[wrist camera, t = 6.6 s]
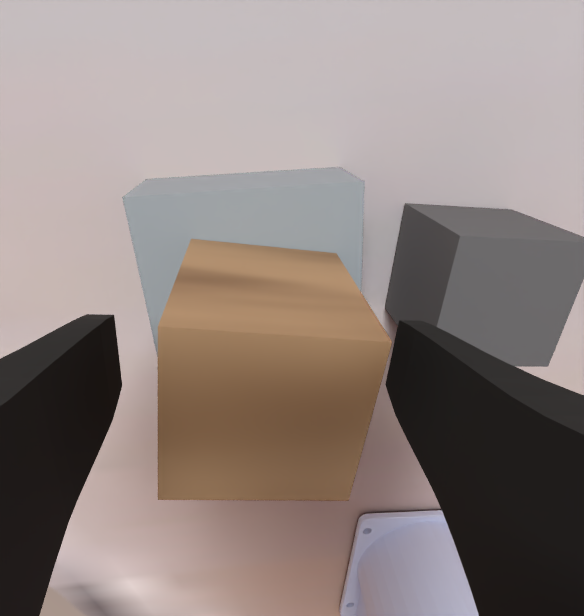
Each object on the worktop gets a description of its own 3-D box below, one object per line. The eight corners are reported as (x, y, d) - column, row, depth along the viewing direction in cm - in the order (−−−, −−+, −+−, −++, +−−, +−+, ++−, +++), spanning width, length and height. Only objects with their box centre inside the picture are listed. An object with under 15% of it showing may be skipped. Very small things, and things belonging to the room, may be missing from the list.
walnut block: (313, 371, 15) (348, 500, 10) (186, 364, 14) (158, 499, 9) (336, 253, 13) (392, 342, 8) (191, 238, 12) (157, 326, 8)
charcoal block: (481, 310, 19) (547, 366, 15) (385, 308, 18) (426, 366, 14) (512, 209, 17) (598, 242, 13) (405, 203, 16) (460, 235, 12)
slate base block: (338, 331, 19) (358, 376, 15) (179, 346, 18) (166, 396, 15) (339, 166, 16) (364, 181, 12) (147, 178, 15) (122, 197, 12)
